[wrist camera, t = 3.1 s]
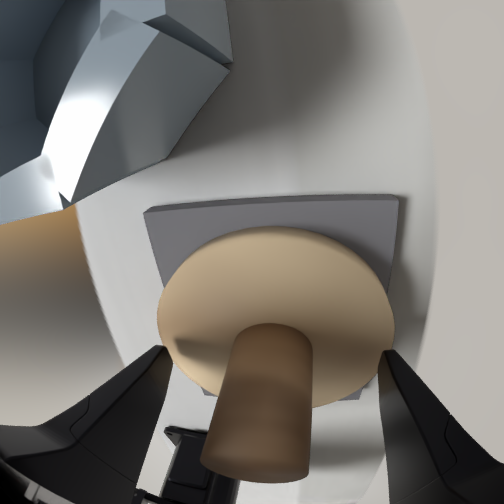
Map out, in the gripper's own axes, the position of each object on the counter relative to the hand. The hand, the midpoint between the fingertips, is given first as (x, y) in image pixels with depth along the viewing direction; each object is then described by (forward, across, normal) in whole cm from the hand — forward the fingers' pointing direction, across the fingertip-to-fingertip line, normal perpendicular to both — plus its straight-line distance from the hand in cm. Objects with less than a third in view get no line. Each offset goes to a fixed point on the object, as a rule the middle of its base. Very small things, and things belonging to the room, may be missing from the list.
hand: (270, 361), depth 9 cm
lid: (+1, 0, 0) cm, 1 cm away
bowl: (+2, +5, -11) cm, 12 cm away
